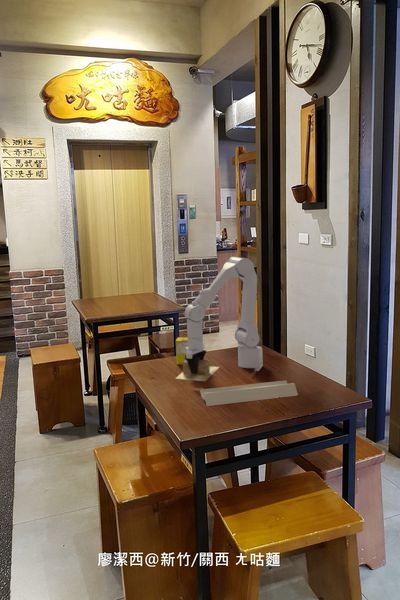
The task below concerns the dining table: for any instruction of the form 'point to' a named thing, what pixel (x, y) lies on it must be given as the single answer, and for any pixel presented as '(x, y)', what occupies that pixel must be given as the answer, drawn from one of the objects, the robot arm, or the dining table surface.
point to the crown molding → (248, 392)
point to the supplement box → (181, 349)
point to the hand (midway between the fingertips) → (196, 371)
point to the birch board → (197, 378)
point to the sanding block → (202, 368)
